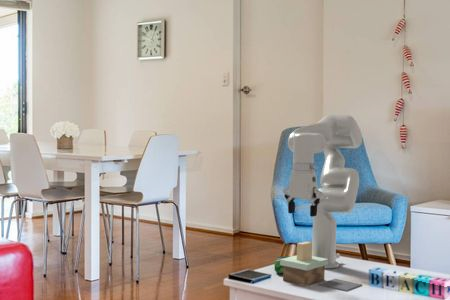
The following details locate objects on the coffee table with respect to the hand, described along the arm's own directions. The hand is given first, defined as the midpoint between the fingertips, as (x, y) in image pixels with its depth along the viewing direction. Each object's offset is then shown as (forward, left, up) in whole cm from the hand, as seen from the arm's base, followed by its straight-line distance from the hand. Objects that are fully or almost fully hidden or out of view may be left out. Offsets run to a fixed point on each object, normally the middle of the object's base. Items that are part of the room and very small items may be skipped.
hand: (302, 214), depth 209 cm
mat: (-5, +14, -24) cm, 28 cm away
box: (-1, +1, -24) cm, 24 cm away
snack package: (-7, -12, -25) cm, 29 cm away
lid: (-1, +1, -19) cm, 19 cm away
